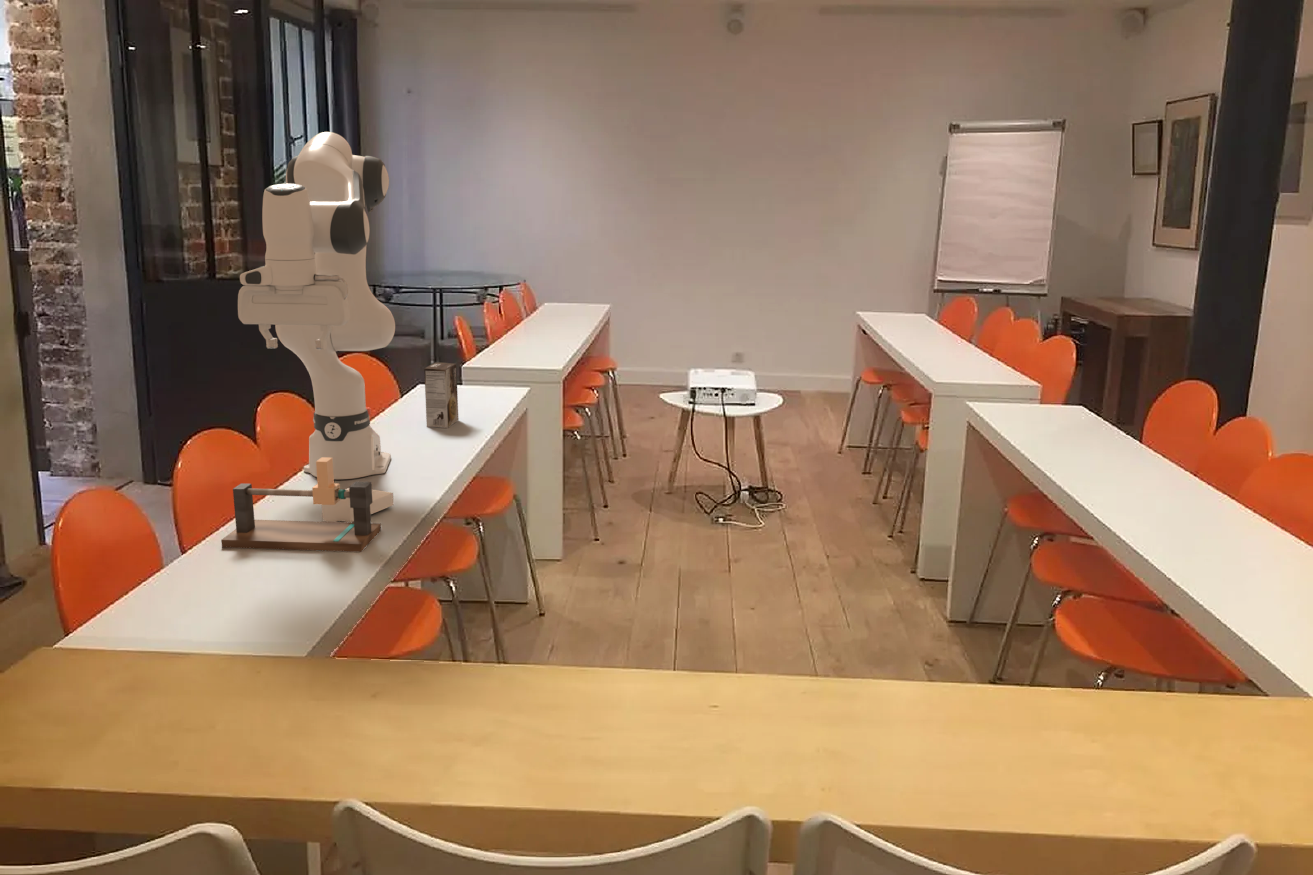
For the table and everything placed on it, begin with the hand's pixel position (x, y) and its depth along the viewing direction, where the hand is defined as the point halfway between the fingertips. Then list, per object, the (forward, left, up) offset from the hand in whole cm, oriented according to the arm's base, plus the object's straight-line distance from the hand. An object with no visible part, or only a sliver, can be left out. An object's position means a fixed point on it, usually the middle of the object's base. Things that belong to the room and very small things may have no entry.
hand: (296, 348), depth 207 cm
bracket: (-8, +7, -35) cm, 37 cm away
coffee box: (-88, +4, -35) cm, 95 cm away
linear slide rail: (+8, +2, -35) cm, 36 cm away
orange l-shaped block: (+8, +7, -28) cm, 29 cm away
